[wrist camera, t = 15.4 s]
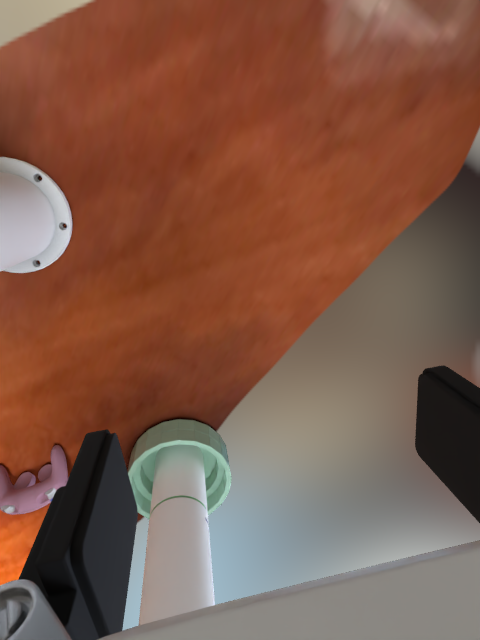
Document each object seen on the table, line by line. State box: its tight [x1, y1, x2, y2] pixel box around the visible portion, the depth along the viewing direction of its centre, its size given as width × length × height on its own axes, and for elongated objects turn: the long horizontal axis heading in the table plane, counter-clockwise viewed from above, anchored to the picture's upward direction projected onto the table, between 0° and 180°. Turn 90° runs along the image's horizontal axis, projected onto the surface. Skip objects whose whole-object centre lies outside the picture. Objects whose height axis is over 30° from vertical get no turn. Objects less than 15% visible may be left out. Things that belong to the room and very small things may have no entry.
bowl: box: [128, 419, 231, 519], centre depth 54 cm, size 14×14×6 cm
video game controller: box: [0, 445, 69, 514], centre depth 51 cm, size 10×5×7 cm, turn 107°
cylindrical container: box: [139, 444, 215, 625], centre depth 44 cm, size 7×7×25 cm
